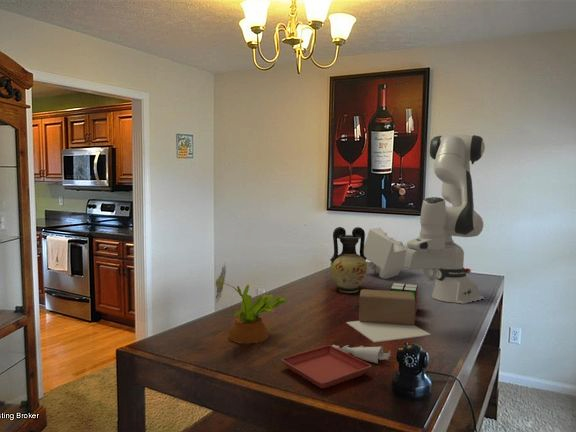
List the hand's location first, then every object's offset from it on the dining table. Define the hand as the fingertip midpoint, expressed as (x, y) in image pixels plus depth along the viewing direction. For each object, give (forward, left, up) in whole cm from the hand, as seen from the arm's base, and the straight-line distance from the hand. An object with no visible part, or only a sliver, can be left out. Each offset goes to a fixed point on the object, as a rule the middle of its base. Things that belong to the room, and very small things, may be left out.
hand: (430, 280), depth 164 cm
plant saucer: (+52, +25, -17) cm, 60 cm away
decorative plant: (+65, -6, -17) cm, 68 cm away
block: (+4, -3, -11) cm, 12 cm away
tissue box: (-27, -73, -17) cm, 80 cm away
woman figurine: (+38, +18, -17) cm, 46 cm away
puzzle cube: (-1, -17, -17) cm, 24 cm away
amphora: (+6, -52, -17) cm, 55 cm away
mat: (+17, 0, -16) cm, 24 cm away
